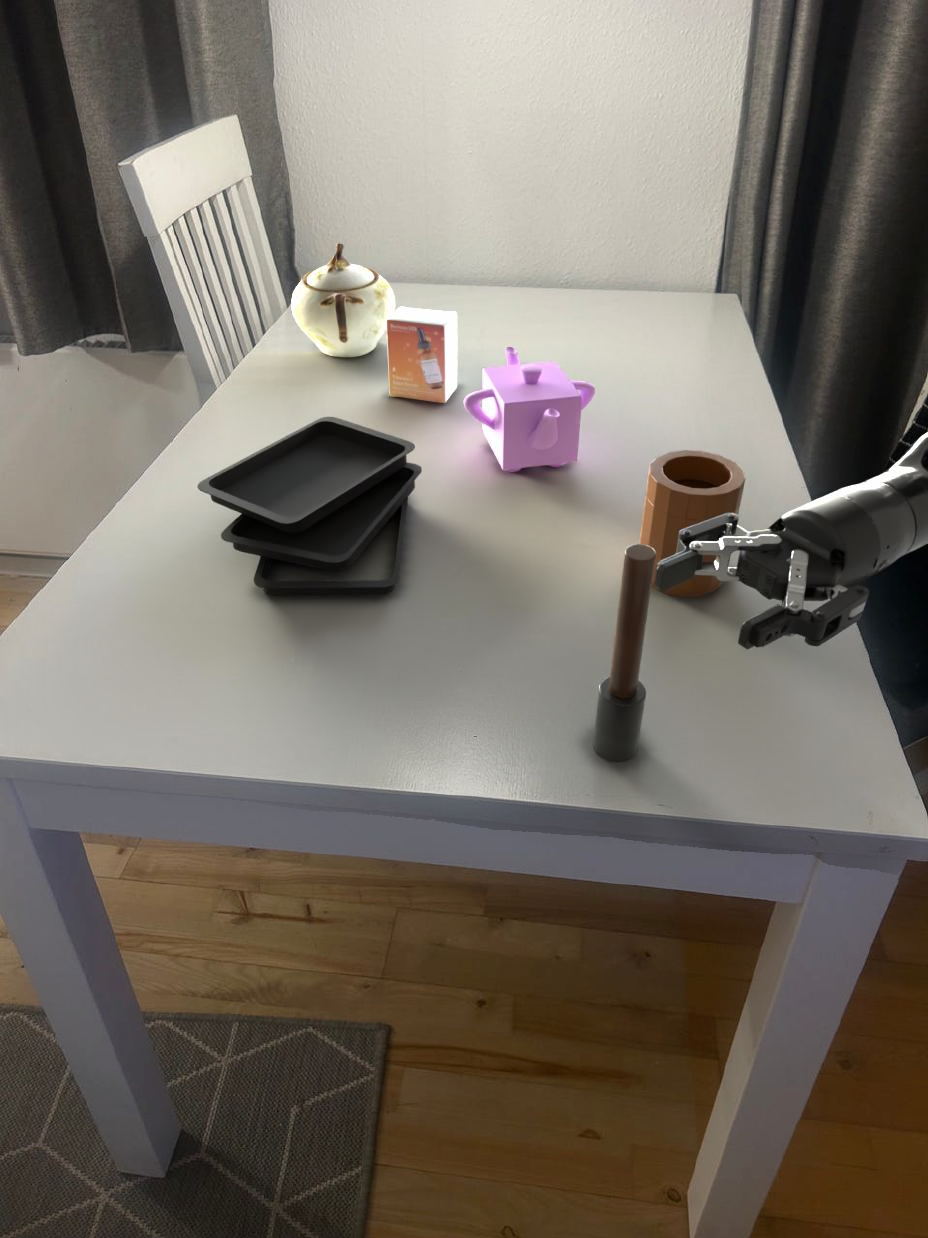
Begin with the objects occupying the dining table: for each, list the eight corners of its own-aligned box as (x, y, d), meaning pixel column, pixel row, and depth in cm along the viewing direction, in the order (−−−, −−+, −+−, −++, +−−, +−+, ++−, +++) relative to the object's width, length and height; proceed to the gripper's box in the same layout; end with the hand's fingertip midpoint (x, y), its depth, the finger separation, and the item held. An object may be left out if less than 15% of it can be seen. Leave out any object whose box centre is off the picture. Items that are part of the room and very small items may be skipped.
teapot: (442, 459, 108) (440, 370, 101) (506, 419, 116) (509, 335, 110) (551, 498, 100) (557, 405, 94) (612, 452, 109) (621, 364, 102)
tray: (449, 595, 86) (448, 548, 83) (197, 622, 83) (186, 575, 80) (410, 450, 110) (408, 410, 106) (212, 467, 107) (204, 426, 103)
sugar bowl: (399, 371, 129) (393, 261, 120) (292, 375, 128) (278, 265, 119) (395, 322, 144) (390, 221, 135) (300, 325, 143) (288, 225, 134)
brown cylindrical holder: (700, 543, 93) (717, 445, 86) (740, 590, 86) (762, 487, 80) (623, 555, 91) (635, 456, 85) (657, 603, 85) (673, 500, 78)
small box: (388, 397, 122) (384, 319, 115) (403, 381, 126) (399, 304, 119) (446, 404, 120) (444, 325, 113) (458, 387, 124) (457, 310, 118)
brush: (627, 728, 72) (654, 534, 61) (644, 759, 69) (676, 562, 58) (586, 736, 71) (606, 541, 60) (602, 767, 69) (626, 570, 58)
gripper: (781, 462, 76) (637, 521, 69) (935, 538, 67) (786, 614, 60) (764, 538, 81) (627, 600, 74) (905, 619, 72) (764, 699, 64)
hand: (699, 606), depth 67 cm, fingers open, 8 cm apart
